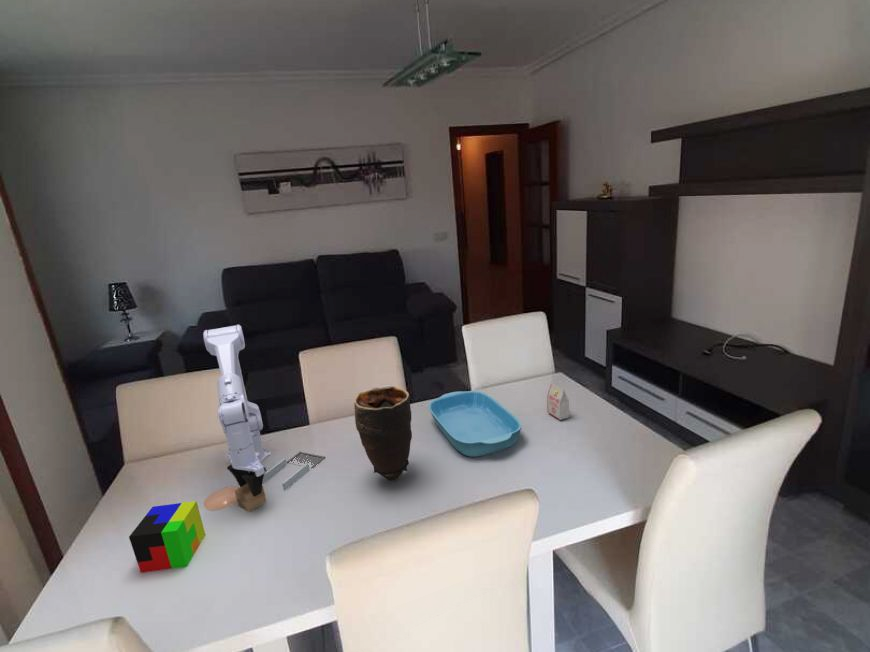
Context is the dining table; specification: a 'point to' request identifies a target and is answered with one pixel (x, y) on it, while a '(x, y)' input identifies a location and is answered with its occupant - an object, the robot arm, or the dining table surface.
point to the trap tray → (313, 459)
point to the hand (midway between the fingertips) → (251, 490)
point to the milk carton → (557, 402)
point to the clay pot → (385, 428)
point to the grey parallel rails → (291, 479)
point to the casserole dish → (475, 422)
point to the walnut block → (249, 498)
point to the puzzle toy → (167, 536)
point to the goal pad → (221, 498)
